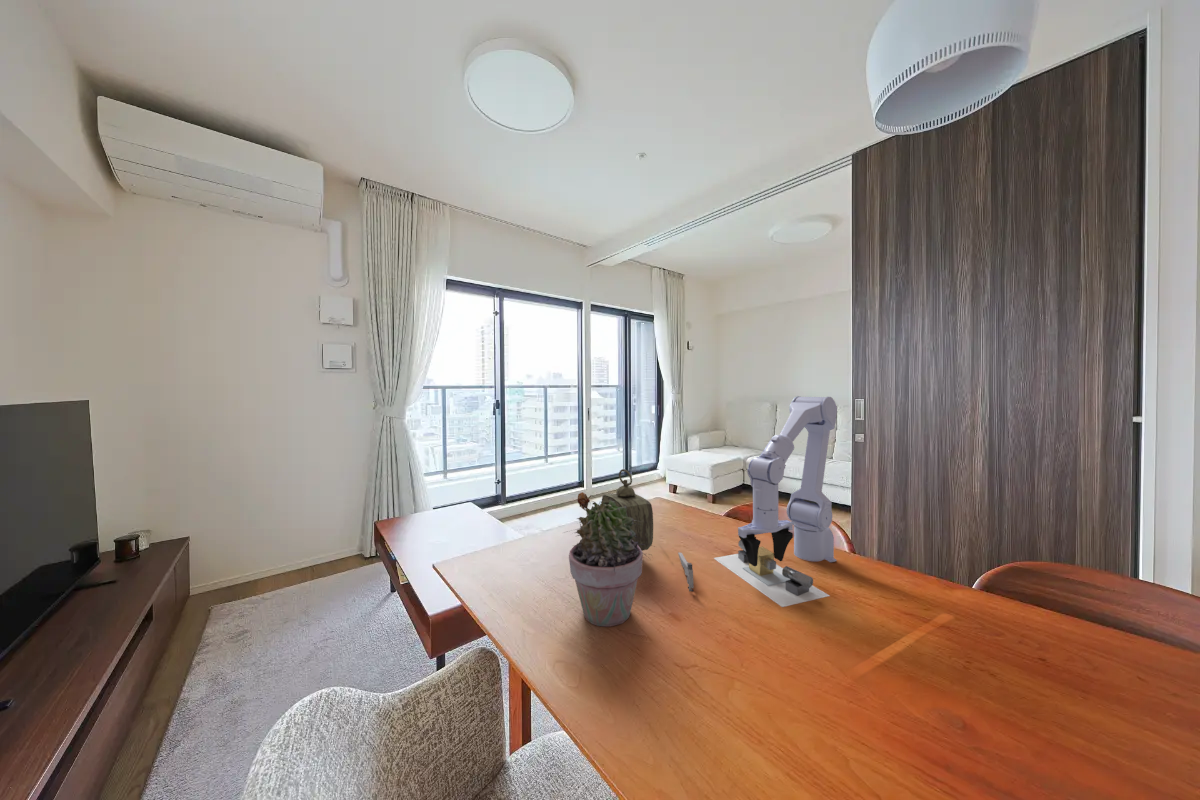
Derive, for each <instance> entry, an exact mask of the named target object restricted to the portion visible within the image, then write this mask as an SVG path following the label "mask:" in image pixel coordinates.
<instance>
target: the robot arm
mask: <svg viewBox="0 0 1200 800" xmlns="http://www.w3.org/2000/svg"><path fill="white" fill-rule="evenodd" d="M788 408H789V416H788V417H787V419H786V421H785V423H784V425H783V427H782V429H781V431H780V433H779V434H775V435H773V436H772V437H771V438H770V440H769V441H768V443H767V444H766V445H765V448H764V449H763V450H762V451H761V453H760V455H759V456H756V457H754V458H752V459H751V460H750V462H749V463H748V467H747V471H746V472H747V475H748V478H749V479H750V486H751V487H752V520H751V522H750V523H748V524H745V525H743V526H739V527H737V536H738V538H739V539H740V540H741V541H742V543H743V545H744V547H745V550H746V553H747V557H748V561H749V563H750V564H751V565H753V566H757V561H758V549H759V547H760V546H761V543H762V541H761V540H760V539H758V538H757V536H756V535H763V534H769V533H770V534H771V538H772V545H773V547H772V548H773V550H772V551H773V553H774V560H776V561H779V562H783V560H784V556H785V555H786V550H787V548H788V545H789V544H790V542H791V540H792V539H793V555H794V556H795V557H797V558H799V559H801V560H804V561H808V562H821V561H823V560H826V561H827V562H829V563H835V562H837V559H836V558H835V557H834V556H835V555H834V554H835V551H834V549H835V548H834V546H835V545H834V543H835V537H834V533H833V531H832V530H831V528H830V526H831V524H832V523H833V510H832V505H833V504H832V501H831V500H830V499H829V498H828V497H827V496H826V495H825V494H824V492H823V486H824V477H825V472H826V471H825V469H826V465H827V457H828V456H827V455H828V449H829V448H828V447H829V443H830V442H829V441H830V433H831V431H832V430H834V429H835V428H836V423H837V422H836V421H837V416H838V406H837V403H836V401H835V399H834V398H833V397H831V396H799V395H797V396H794V397H793V398H792V400H791V402H790V404H789V407H788ZM804 429H806V431H807V441H806V447H805V456H804V461H803V462H804V463H803V469H802V476H801V484H800V488H799V489H797V490H796V491H793V492H792V493H791V494H790V499H789V501H788V503H787V505H786V515H787V518H788V519H789V520H787V519H786V520H785V519H783V520H780V519H779V483H780V482H782V480H783V479H784V474H785V469H786V466H787V465H786V463H787V461H788V459H789V458H790V457H791V454H792V453H793V451H794V450H795V444H794V441H795V440H796V438H797V437H798V436H799V435H800V434H801V432H802V431H803V430H804ZM791 531H793V532H791Z"/></svg>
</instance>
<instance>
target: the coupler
mask: <svg viewBox="0 0 1200 800" xmlns="http://www.w3.org/2000/svg"><path fill="white" fill-rule="evenodd" d="M776 564H777V560H775V558H774V552H773V551H771V550H770V549H767V547H764V546H759V549H758V561H757V566H753V565H751V564H750V563H749V568H750V569H751V570H752V571H754V572H755V573H757V574H758V575H759V576H762V575H767V574H772V573H773V569H776Z"/></svg>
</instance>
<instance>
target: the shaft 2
mask: <svg viewBox="0 0 1200 800" xmlns="http://www.w3.org/2000/svg"><path fill="white" fill-rule="evenodd" d="M782 568H783V570H782V575H783V576H784V577H786V578H788V579H790V580H788V581H786V590H787V591H789V592H791V593H793V594H795V595H796V596H799V595H801V594H804V593H806V592H809V588H810V587H811V586H812V585H813V586H814V578H813V577H812V576H810V575H808V574H806V573H803V572H801V571H799V570H797V569H794V568H792V567H789V566H787V565H785V566H784V567H782Z"/></svg>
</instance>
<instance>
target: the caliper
mask: <svg viewBox="0 0 1200 800" xmlns="http://www.w3.org/2000/svg"><path fill="white" fill-rule="evenodd" d="M677 554H678V557H679V561H680V564H681V566H682V568H683V569H684V574H685V576H686V583H687V584H688V586H687V589H688V592H694V570H693V564H692V562H688V560H686V557H685V556H684V554H683V552H677Z"/></svg>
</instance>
